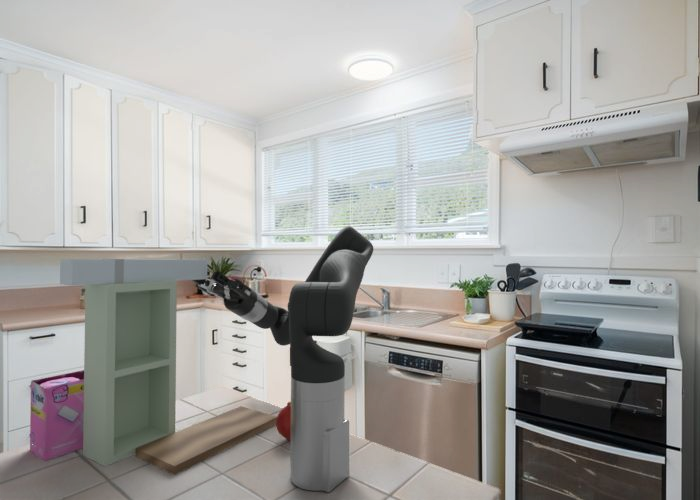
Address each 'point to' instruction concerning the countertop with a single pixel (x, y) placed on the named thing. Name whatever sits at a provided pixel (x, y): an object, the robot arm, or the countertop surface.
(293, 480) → the robot arm
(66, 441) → the gum box
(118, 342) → the shelf
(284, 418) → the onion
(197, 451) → the board
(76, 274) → the light blue box
